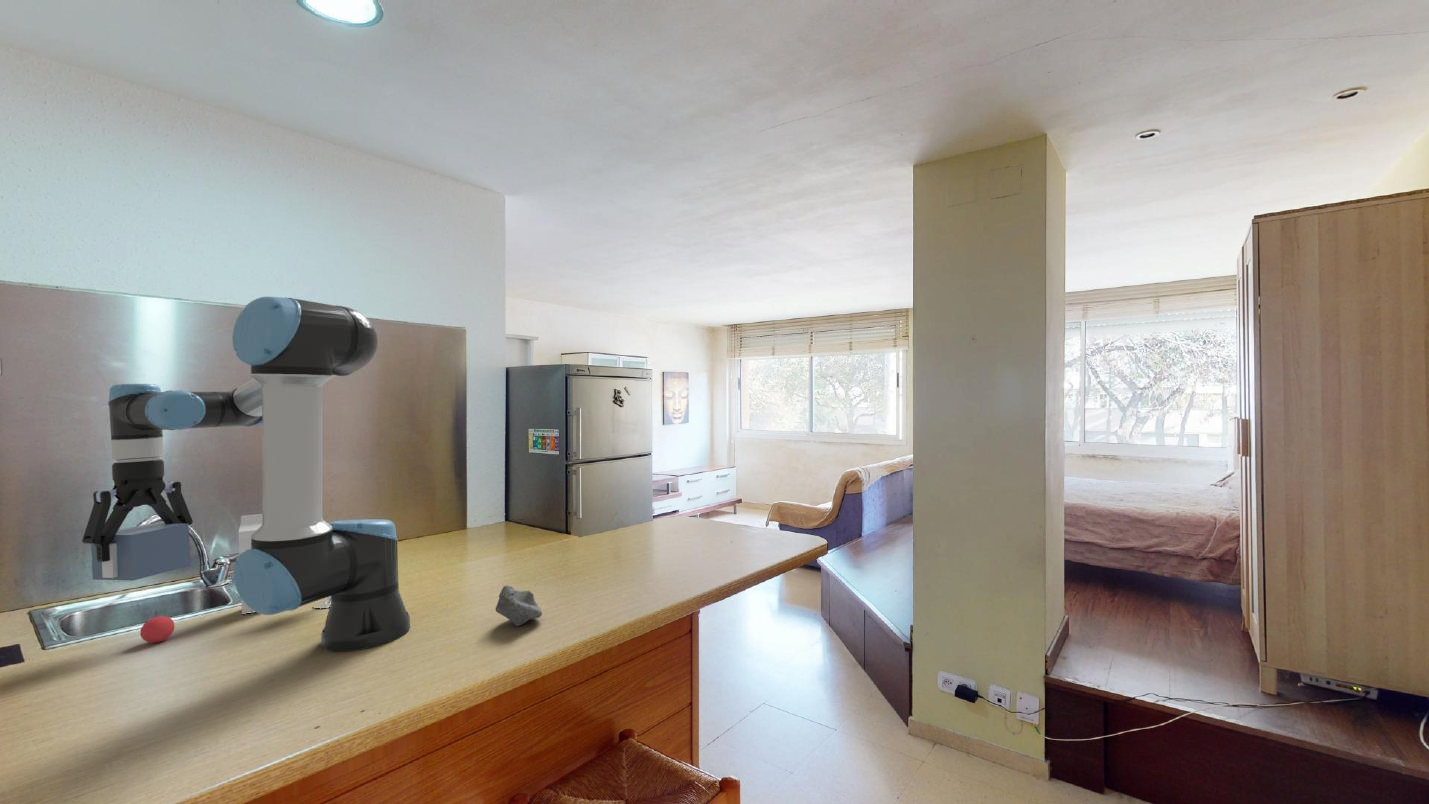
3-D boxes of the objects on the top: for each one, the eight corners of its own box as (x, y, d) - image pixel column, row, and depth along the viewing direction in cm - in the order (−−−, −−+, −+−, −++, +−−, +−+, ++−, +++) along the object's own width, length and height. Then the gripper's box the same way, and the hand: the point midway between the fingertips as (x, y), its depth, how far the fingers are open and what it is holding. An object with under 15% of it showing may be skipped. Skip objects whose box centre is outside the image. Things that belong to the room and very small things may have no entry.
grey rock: (548, 627, 116) (546, 587, 116) (500, 638, 112) (499, 596, 112) (536, 611, 126) (534, 574, 126) (491, 620, 121) (490, 582, 121)
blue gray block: (190, 565, 122) (188, 523, 122) (133, 580, 112) (131, 535, 112) (152, 564, 124) (150, 523, 124) (92, 579, 114) (90, 534, 114)
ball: (159, 615, 121) (165, 639, 120) (130, 625, 116) (137, 649, 115) (177, 609, 120) (183, 633, 119) (149, 618, 115) (156, 643, 114)
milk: (274, 609, 134) (270, 514, 134) (241, 615, 131) (237, 518, 131) (278, 602, 140) (275, 510, 140) (246, 607, 137) (243, 513, 137)
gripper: (185, 454, 130) (189, 553, 130) (50, 467, 108) (55, 586, 108) (211, 454, 128) (216, 554, 128) (81, 466, 106) (86, 587, 106)
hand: (143, 569), depth 118 cm, fingers closed on blue gray block, 10 cm apart
